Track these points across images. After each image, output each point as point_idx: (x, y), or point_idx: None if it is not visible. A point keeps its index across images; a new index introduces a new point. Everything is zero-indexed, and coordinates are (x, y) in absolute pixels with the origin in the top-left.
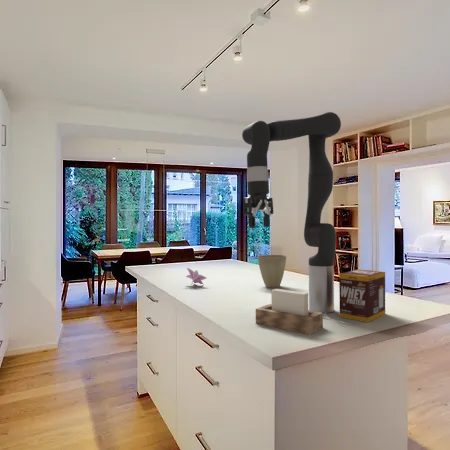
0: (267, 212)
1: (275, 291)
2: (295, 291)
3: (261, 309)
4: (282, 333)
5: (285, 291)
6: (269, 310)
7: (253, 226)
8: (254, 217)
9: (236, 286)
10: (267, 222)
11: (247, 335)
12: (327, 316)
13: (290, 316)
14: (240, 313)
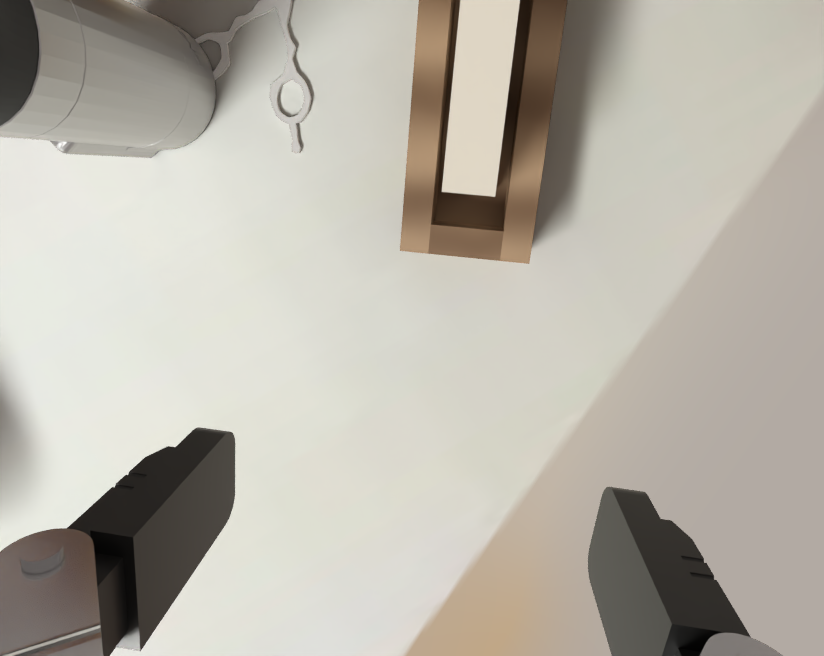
0: (98, 614)
1: (498, 167)
2: (460, 43)
3: (526, 232)
4: (608, 76)
5: (492, 100)
6: (525, 188)
7: (644, 509)
8: (689, 617)
9: None
10: (201, 481)
11: (704, 194)
12: (256, 5)
13: (559, 50)
14: (423, 383)
